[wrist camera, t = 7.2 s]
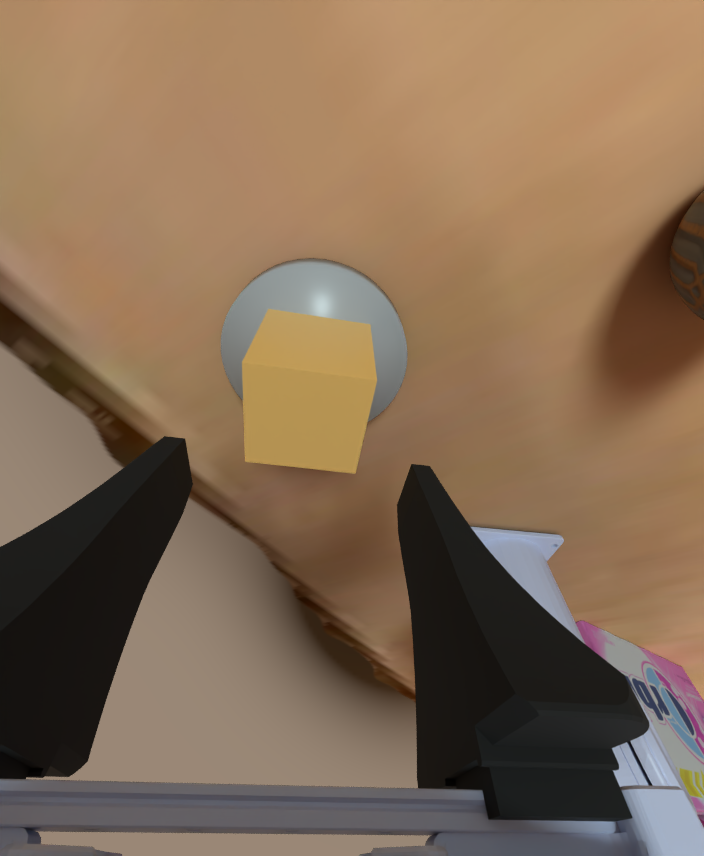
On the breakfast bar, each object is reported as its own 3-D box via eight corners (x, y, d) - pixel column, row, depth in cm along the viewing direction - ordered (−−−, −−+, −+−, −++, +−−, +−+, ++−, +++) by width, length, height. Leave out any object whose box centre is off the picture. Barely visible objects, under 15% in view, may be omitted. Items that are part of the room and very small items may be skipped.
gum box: (688, 667, 46) (790, 823, 36) (629, 684, 50) (704, 830, 40) (580, 618, 38) (672, 805, 27) (519, 644, 42) (577, 816, 31)
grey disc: (384, 429, 22) (390, 481, 18) (232, 412, 21) (210, 462, 18) (425, 275, 16) (445, 308, 13) (221, 242, 15) (186, 269, 12)
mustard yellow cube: (354, 406, 19) (355, 473, 15) (266, 395, 19) (245, 461, 15) (370, 324, 16) (377, 380, 12) (268, 308, 16) (241, 362, 12)
